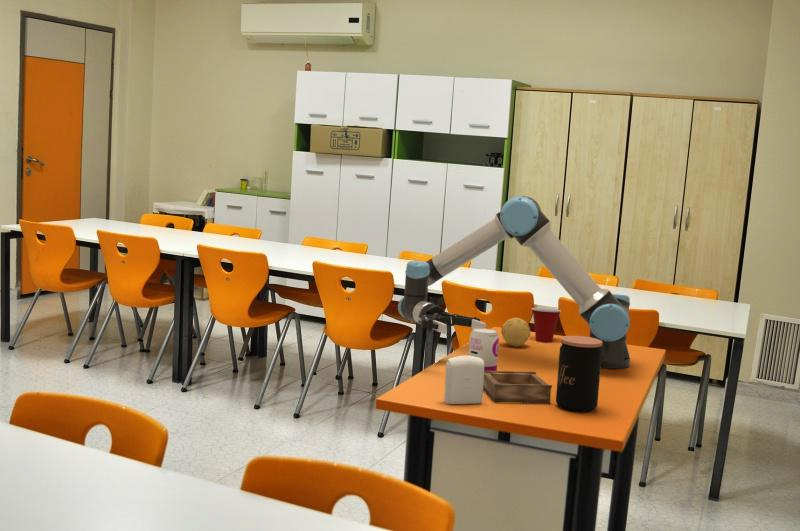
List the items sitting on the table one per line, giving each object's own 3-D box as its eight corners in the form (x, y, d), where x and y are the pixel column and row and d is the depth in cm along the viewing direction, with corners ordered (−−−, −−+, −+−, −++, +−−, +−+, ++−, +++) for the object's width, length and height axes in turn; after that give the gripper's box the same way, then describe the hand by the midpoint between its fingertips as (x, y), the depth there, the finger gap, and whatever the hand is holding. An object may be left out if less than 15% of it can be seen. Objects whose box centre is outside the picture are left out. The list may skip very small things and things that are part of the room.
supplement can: (498, 380, 249) (501, 329, 248) (491, 387, 242) (495, 334, 240) (471, 377, 252) (474, 326, 250) (463, 383, 244) (467, 331, 242)
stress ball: (506, 345, 307) (491, 328, 302) (525, 324, 308) (510, 308, 303) (521, 355, 298) (505, 338, 293) (540, 334, 299) (525, 317, 294)
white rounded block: (446, 405, 220) (449, 357, 219) (441, 400, 224) (444, 354, 223) (484, 404, 223) (487, 357, 222) (478, 400, 227) (482, 354, 226)
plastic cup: (557, 339, 319) (560, 307, 318) (560, 344, 308) (562, 311, 307) (528, 336, 320) (530, 304, 319) (529, 342, 309) (532, 309, 308)
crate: (534, 388, 242) (535, 371, 242) (550, 403, 227) (552, 385, 227) (480, 387, 240) (481, 370, 240) (493, 402, 225) (494, 384, 225)
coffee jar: (550, 401, 230) (555, 334, 228) (589, 402, 231) (595, 336, 229) (561, 412, 219) (567, 343, 217) (602, 414, 220) (608, 344, 218)
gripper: (462, 325, 279) (499, 339, 260) (393, 328, 267) (427, 342, 248) (463, 303, 278) (501, 315, 259) (395, 304, 266) (429, 316, 248)
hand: (465, 328), depth 254 cm, fingers open, 13 cm apart
